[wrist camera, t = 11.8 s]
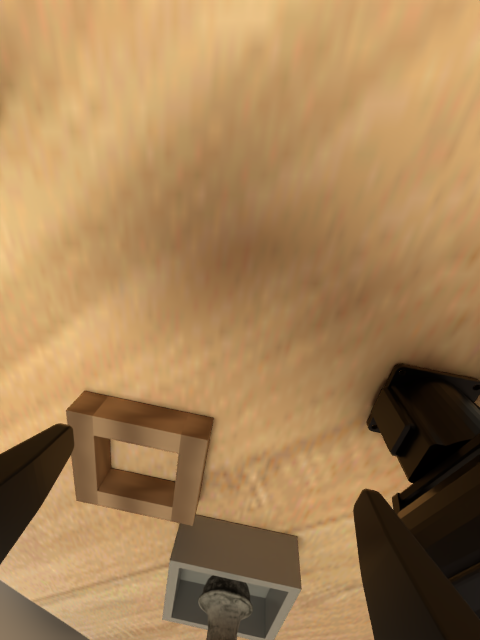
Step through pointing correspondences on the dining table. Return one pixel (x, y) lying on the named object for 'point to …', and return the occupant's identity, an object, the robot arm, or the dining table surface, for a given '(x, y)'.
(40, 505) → the robot arm
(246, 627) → the bin
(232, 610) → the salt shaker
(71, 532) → the dining table surface
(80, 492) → the socket block
